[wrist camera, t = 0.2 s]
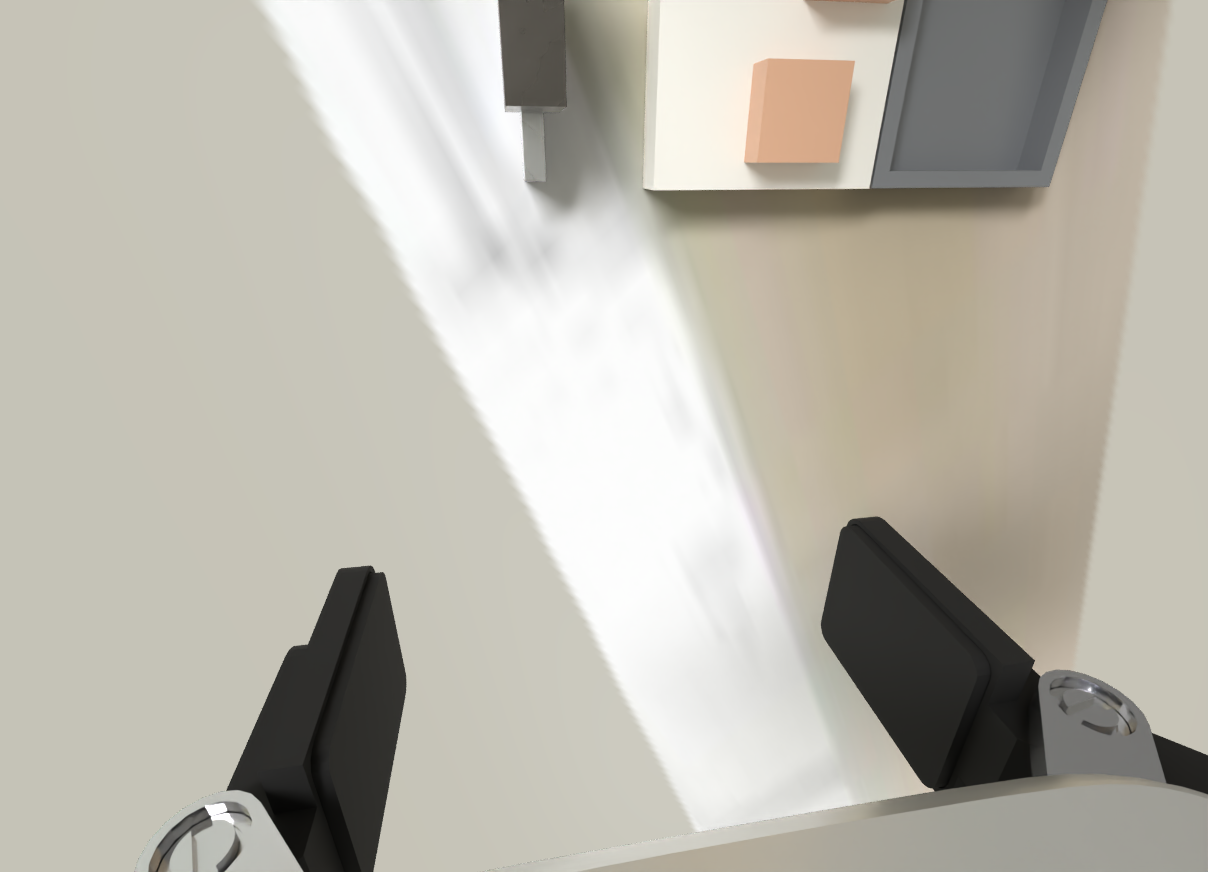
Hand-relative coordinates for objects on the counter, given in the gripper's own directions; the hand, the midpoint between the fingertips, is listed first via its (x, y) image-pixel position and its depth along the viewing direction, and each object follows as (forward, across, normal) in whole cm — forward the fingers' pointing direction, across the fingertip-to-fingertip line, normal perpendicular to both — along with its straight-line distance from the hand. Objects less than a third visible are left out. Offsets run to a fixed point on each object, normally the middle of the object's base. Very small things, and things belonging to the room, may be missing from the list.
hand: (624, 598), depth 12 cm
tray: (+30, -28, -14) cm, 44 cm away
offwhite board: (+30, -14, -14) cm, 36 cm away
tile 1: (+27, -15, -10) cm, 33 cm away
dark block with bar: (+31, 0, -15) cm, 34 cm away
